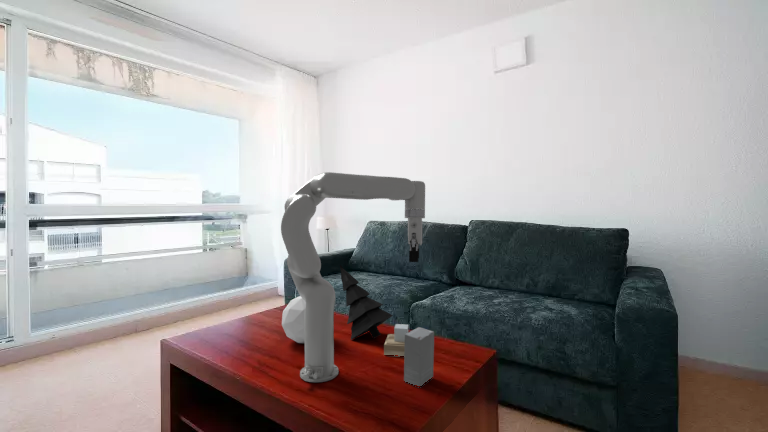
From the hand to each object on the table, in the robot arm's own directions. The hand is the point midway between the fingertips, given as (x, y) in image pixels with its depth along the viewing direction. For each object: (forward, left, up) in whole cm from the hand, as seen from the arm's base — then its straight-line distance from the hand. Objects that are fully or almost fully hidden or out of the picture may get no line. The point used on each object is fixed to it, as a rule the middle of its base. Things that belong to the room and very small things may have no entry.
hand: (414, 260), depth 136 cm
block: (+3, +5, -31) cm, 32 cm away
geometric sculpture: (+7, +45, -36) cm, 58 cm away
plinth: (+3, +5, -36) cm, 36 cm away
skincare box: (-21, -3, -36) cm, 41 cm away
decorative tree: (+17, +24, -36) cm, 47 cm away
